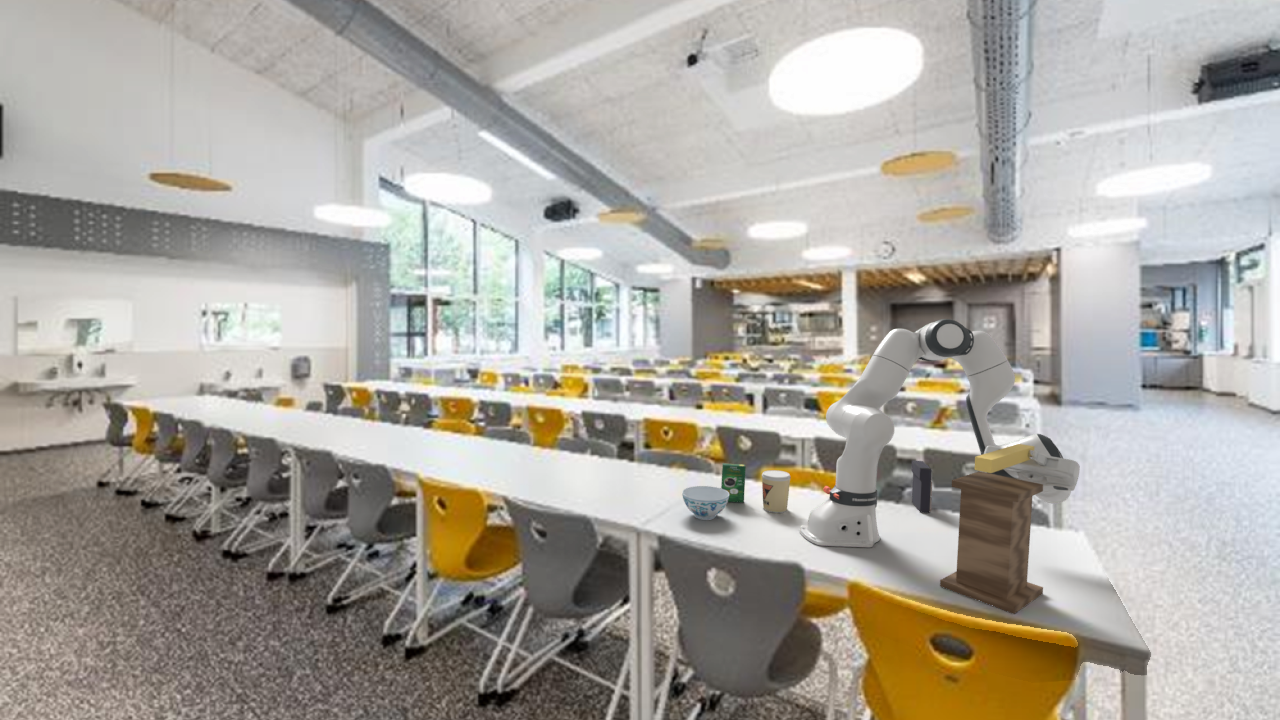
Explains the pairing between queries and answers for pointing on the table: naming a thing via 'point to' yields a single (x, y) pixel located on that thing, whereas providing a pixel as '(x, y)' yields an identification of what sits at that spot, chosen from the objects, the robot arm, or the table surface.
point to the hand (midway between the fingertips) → (1020, 451)
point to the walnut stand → (994, 541)
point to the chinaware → (705, 501)
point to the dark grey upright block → (921, 486)
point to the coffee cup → (775, 490)
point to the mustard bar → (1002, 458)
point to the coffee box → (734, 481)
